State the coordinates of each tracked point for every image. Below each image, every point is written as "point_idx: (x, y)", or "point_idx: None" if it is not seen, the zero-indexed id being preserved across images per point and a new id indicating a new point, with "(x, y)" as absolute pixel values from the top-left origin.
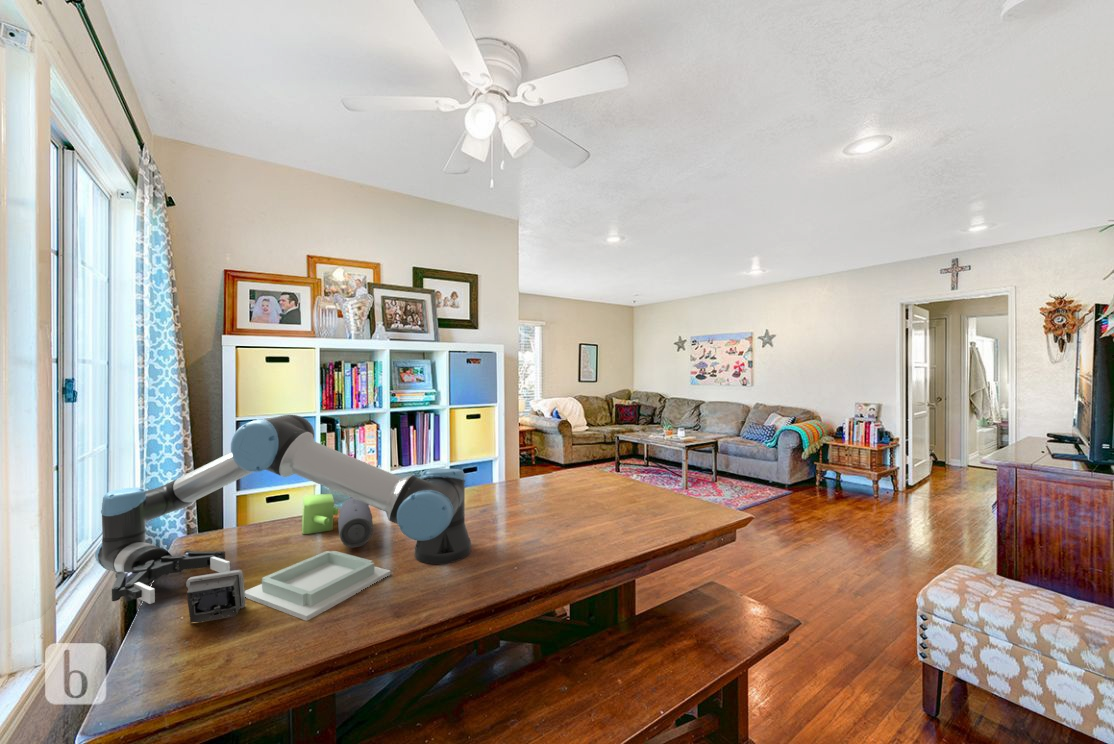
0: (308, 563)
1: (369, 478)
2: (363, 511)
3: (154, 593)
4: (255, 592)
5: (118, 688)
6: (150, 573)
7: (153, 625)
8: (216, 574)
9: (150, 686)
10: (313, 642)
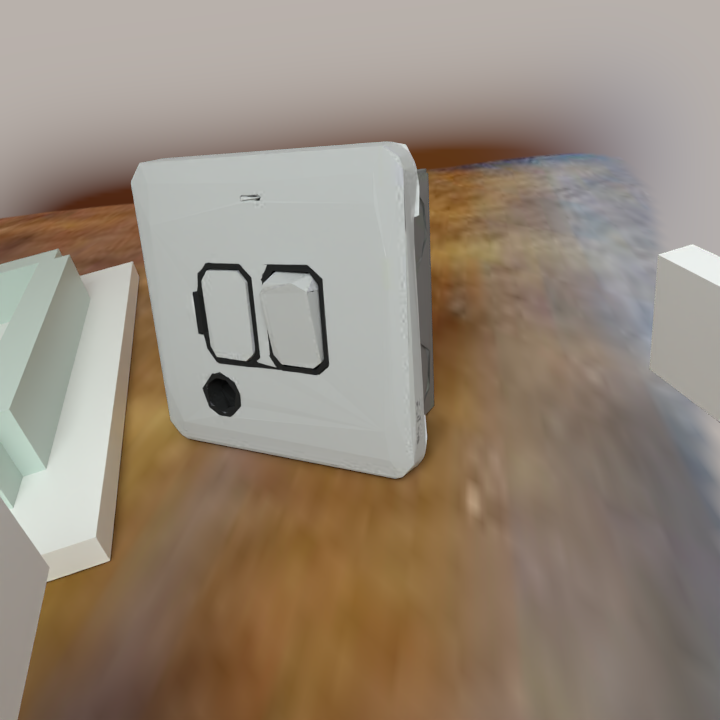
0: None
1: None
2: None
3: (656, 296)
4: (67, 484)
5: (627, 208)
6: None
7: (643, 497)
8: (251, 152)
9: (543, 199)
10: None
